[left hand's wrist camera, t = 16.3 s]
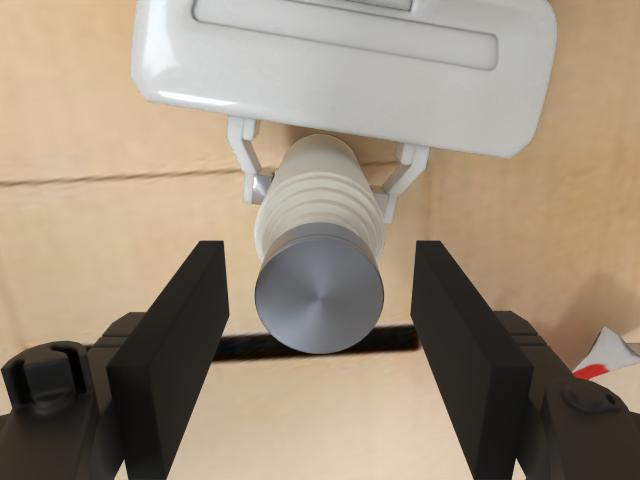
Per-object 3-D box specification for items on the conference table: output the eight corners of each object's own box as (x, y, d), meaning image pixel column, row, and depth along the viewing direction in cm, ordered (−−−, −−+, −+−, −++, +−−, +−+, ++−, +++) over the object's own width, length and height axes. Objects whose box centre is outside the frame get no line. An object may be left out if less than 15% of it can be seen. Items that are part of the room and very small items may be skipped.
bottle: (342, 120, 29) (372, 177, 12) (370, 195, 31) (430, 333, 14) (267, 152, 30) (199, 245, 13) (299, 223, 31) (274, 386, 15)
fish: (456, 301, 28) (578, 447, 22) (609, 262, 35) (741, 365, 28) (409, 392, 35) (492, 525, 28) (544, 345, 41) (638, 445, 35)
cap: (239, 252, 14) (230, 273, 13) (346, 200, 14) (349, 215, 12) (295, 343, 15) (293, 371, 14) (396, 299, 15) (404, 323, 13)
